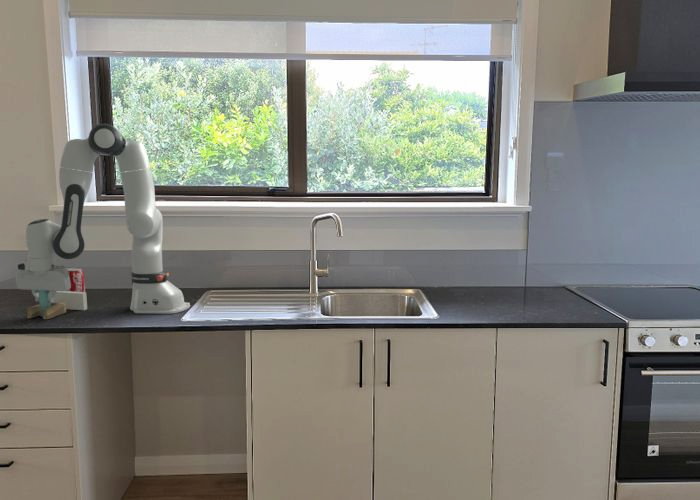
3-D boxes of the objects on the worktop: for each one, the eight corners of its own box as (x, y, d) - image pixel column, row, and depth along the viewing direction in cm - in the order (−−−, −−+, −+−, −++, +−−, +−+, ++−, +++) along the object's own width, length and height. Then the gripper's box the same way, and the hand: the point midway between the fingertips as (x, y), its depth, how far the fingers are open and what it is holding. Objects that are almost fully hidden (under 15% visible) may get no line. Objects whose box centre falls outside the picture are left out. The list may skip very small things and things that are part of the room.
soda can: (88, 295, 256) (86, 267, 254) (79, 299, 249) (77, 270, 248) (72, 295, 257) (70, 267, 255) (63, 299, 250) (61, 270, 248)
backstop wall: (87, 308, 235) (86, 292, 234) (84, 310, 233) (82, 293, 232) (50, 306, 238) (49, 290, 237) (47, 307, 237) (45, 291, 235)
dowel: (53, 314, 225) (51, 288, 224) (47, 317, 222) (44, 290, 220) (45, 314, 226) (42, 287, 225) (38, 316, 223) (36, 289, 221)
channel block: (66, 312, 229) (65, 303, 229) (47, 319, 219) (46, 309, 219) (46, 310, 231) (46, 301, 230) (27, 317, 221) (26, 308, 220)
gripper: (73, 264, 222) (75, 301, 224) (23, 262, 226) (27, 298, 228) (61, 267, 216) (64, 305, 218) (11, 265, 220) (14, 302, 222)
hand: (45, 301), depth 223 cm, fingers closed on dowel, 4 cm apart
